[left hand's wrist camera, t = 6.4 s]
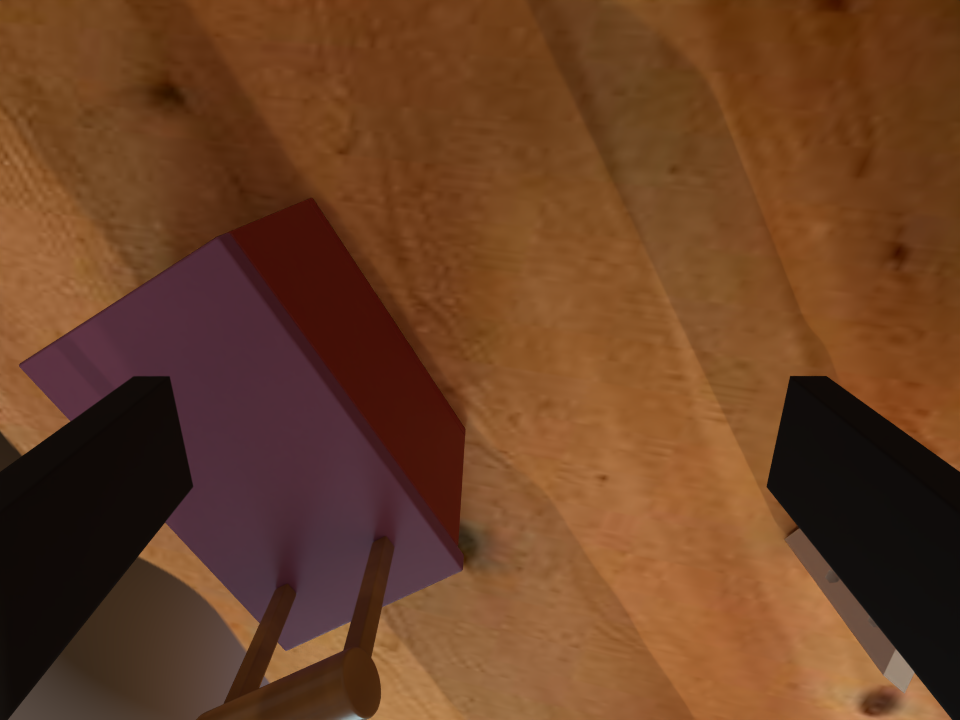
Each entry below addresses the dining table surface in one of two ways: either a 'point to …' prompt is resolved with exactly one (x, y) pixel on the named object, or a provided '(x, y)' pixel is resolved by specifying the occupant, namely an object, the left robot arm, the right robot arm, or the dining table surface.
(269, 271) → the chest
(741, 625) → the dining table surface
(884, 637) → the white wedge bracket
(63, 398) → the lid
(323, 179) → the dining table surface
